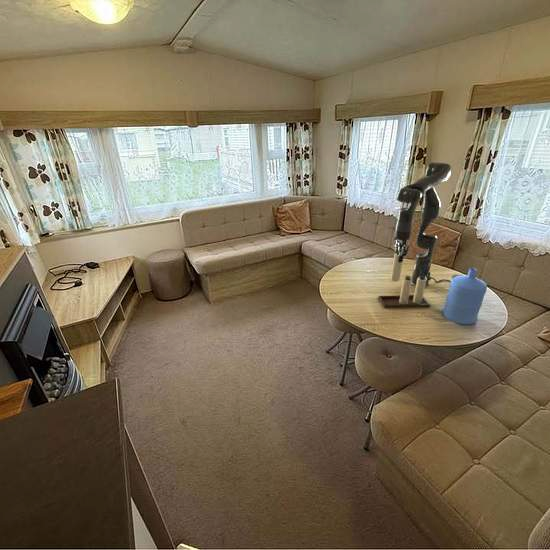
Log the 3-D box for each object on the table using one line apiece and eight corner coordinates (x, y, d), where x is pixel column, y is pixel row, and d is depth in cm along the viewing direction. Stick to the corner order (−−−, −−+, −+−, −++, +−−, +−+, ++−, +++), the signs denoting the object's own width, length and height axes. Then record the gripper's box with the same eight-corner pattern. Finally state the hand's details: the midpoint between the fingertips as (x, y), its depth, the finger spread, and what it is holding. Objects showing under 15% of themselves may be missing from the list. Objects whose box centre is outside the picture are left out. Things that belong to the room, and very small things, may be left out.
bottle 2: (419, 299, 175) (424, 274, 167) (422, 303, 171) (428, 278, 163) (411, 299, 175) (416, 274, 167) (414, 304, 171) (420, 278, 163)
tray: (421, 297, 178) (421, 294, 177) (429, 307, 168) (430, 304, 167) (378, 298, 178) (378, 295, 177) (384, 308, 168) (384, 305, 167)
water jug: (475, 328, 150) (492, 279, 137) (441, 319, 157) (453, 272, 145) (476, 313, 161) (491, 266, 149) (443, 306, 169) (456, 260, 157)
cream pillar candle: (397, 277, 165) (402, 249, 158) (400, 281, 161) (405, 253, 153) (389, 277, 165) (393, 250, 158) (392, 281, 161) (396, 253, 153)
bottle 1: (405, 300, 175) (410, 274, 167) (408, 304, 171) (414, 278, 163) (397, 300, 175) (402, 275, 167) (400, 304, 171) (405, 278, 163)
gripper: (417, 233, 144) (410, 265, 151) (405, 224, 156) (400, 254, 164) (401, 233, 144) (396, 265, 151) (390, 225, 156) (386, 255, 164)
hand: (398, 259), depth 158 cm, fingers closed on cream pillar candle, 4 cm apart
